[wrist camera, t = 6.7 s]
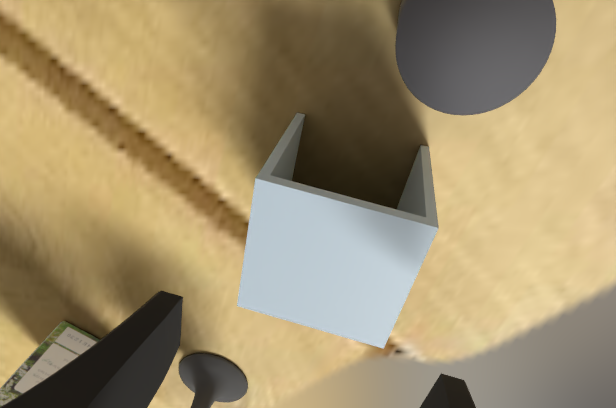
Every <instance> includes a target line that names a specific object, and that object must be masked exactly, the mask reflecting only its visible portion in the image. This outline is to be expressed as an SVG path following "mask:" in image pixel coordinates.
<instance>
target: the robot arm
mask: <svg viewBox="0 0 616 408" xmlns="http://www.w3.org/2000/svg"><path fill="white" fill-rule="evenodd" d="M182 300H183V297H181V296H178V295H174V294H171V293H167V292H164V291H160V292H158V293H157V294H155V295H154V296H153V297H152V298H151V299H150V300H149V301H147V302H146V303H145V304H144V305H143V306H142V307H141V308H139V309H138V310H137V311H136V312H135V313H133V314H132V315H131V316H130V317H129V318H127V319H126V320H125V321H124V322H122V323H121V324H120V325H119V326H118V327H116V328H115V329H114V330H112V331H111V332H110V333H109V334H107V335H106V336H105V337H103V338H102V339H101V340H99V341H98V342H97V343H96V344H94V345H93V346H92V347H90V348H89V349H88V350H86V351H85V352H84V353H82V354H81V355H79V356H78V357H76V358H75V359H74V360H72V361H71V362H69V363H68V364H67V365H65V366H64V367H62V368H61V369H59V370H58V371H57V372H55V373H54V374H52V375H51V376H49V377H48V378H46V379H45V380H43V381H42V382H40V383H39V384H37V385H35V386H34V387H32V388H31V389H29V390H28V391H26V392H24V393H23V394H21V395H19V396H18V397H16V398H15V399H13V400H11V401H10V402H8V403H6V404H5V405H3V406H1V407H0V408H147V407H148V405H149V404H150V402H151V400H152V399H153V397H154V395H155V394H156V392H157V390H158V389H159V387H160V385H161V384H162V382H163V380H164V378H165V376H166V374H167V372H168V370H169V368H170V366H171V363H172V361H173V359H174V357H175V355H176V352H177V350H178V348H179V346H180V336H181V318H182ZM420 408H476V407H475V404H474V402H473V400H472V397H471V395H470V392H469V391H468V388H467V385H466V383H465V381H464V380H461V379H458V378H455V377H451V376H448V375H444V374H441V375H440V376H439V378H438V379H437V381H436V383H435V384H434V386H433V387H432V389H431V391H430V392H429V394H428V396H427V397H426V399H425V400H424V402H423V403H422V405H421V407H420Z"/></svg>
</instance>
